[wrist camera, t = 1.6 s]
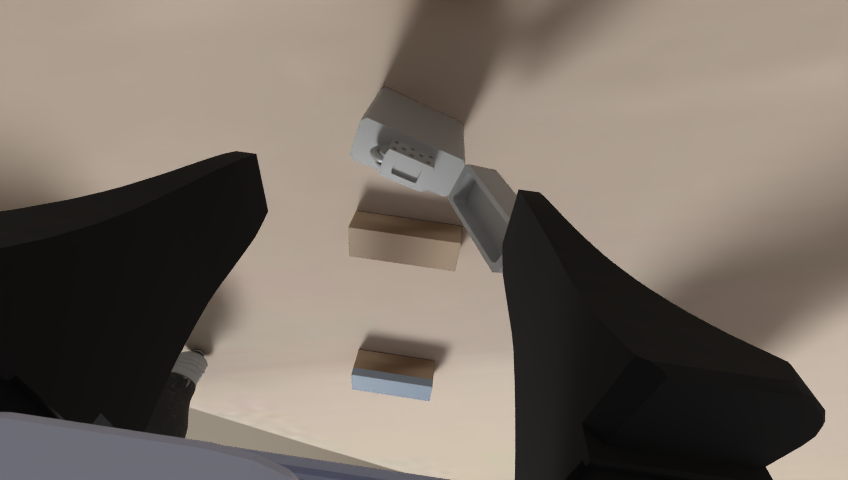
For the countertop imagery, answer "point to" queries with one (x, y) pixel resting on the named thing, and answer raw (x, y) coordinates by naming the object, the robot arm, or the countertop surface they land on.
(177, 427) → the light bulb
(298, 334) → the countertop surface
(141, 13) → the countertop surface
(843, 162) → the countertop surface
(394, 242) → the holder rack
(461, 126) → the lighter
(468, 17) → the countertop surface
